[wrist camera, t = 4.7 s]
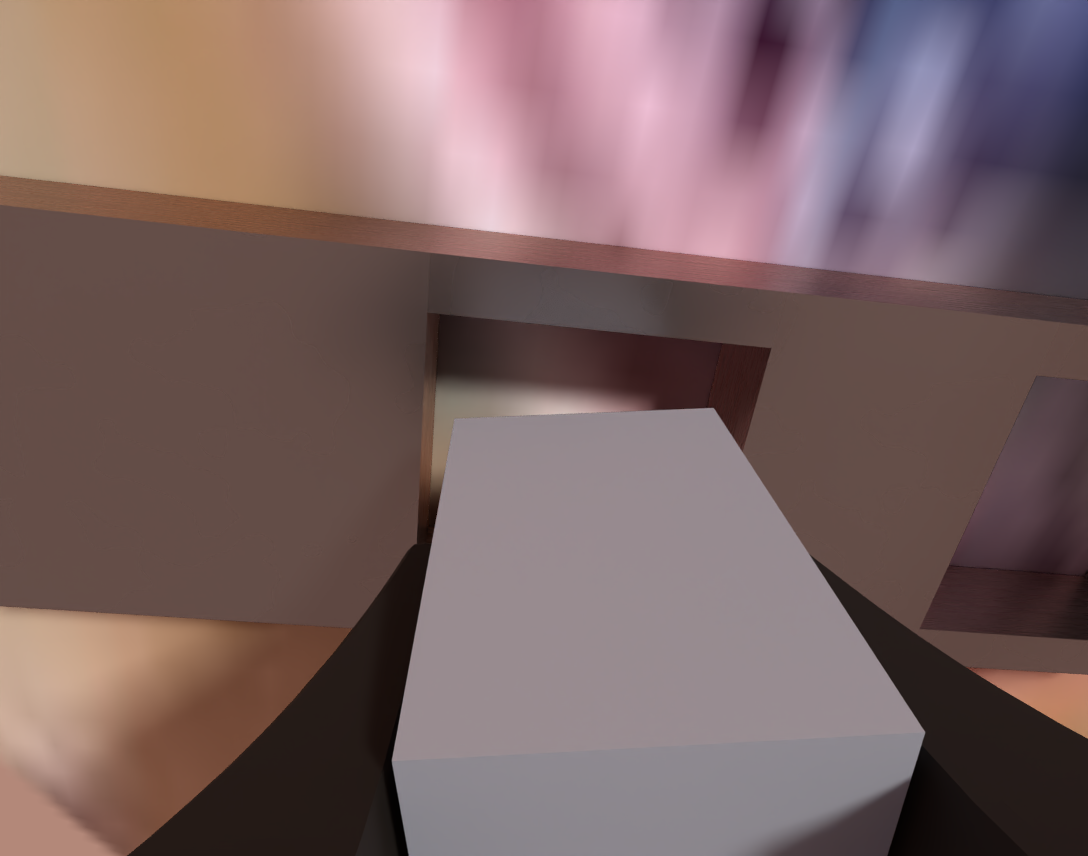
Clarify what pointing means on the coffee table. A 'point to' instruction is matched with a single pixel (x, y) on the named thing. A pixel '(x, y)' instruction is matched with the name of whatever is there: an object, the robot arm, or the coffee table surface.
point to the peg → (636, 657)
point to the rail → (409, 402)
